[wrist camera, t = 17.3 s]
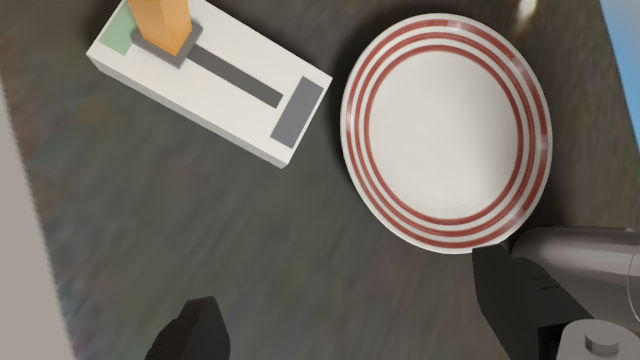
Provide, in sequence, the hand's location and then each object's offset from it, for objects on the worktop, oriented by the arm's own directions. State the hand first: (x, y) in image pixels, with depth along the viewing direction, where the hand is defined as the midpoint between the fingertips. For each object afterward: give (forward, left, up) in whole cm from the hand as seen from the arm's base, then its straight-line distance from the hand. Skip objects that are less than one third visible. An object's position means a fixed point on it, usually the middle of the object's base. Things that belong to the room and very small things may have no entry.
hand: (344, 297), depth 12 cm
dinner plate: (-25, 0, -30) cm, 39 cm away
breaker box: (-4, -16, -29) cm, 34 cm away
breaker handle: (-1, -20, -25) cm, 32 cm away
